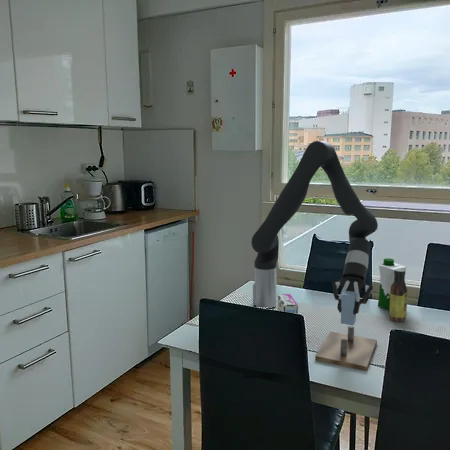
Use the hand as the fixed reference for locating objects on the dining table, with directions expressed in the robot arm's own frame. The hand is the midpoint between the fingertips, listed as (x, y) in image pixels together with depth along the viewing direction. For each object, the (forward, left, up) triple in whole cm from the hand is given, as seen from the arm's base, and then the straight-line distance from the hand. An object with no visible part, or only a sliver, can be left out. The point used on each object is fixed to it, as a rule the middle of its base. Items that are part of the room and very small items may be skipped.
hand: (347, 312), depth 142 cm
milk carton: (+8, +49, -15) cm, 52 cm away
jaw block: (0, +2, -4) cm, 5 cm away
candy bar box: (-20, -1, -15) cm, 25 cm away
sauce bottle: (+12, +37, -15) cm, 42 cm away
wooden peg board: (0, +2, -15) cm, 15 cm away
